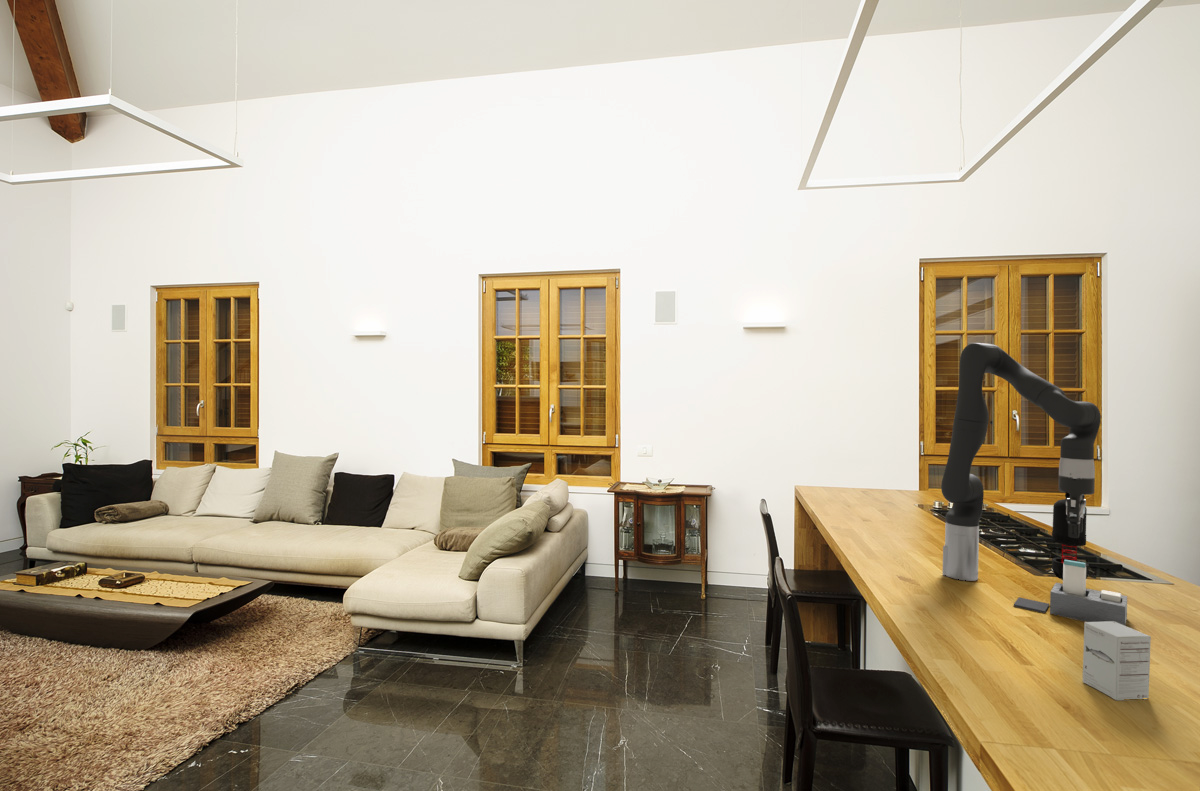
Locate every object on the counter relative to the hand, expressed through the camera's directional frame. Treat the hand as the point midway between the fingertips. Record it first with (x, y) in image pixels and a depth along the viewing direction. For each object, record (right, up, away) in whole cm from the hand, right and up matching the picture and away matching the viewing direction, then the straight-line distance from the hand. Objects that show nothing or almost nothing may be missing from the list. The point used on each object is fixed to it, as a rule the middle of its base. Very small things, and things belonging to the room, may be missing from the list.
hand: (1075, 534), depth 157 cm
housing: (+2, -21, -2) cm, 22 cm away
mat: (-8, -21, +5) cm, 23 cm away
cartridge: (0, -21, 0) cm, 21 cm away
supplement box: (-26, -22, -41) cm, 53 cm away
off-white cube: (+5, -19, -5) cm, 20 cm away
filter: (+18, -22, +24) cm, 37 cm away
